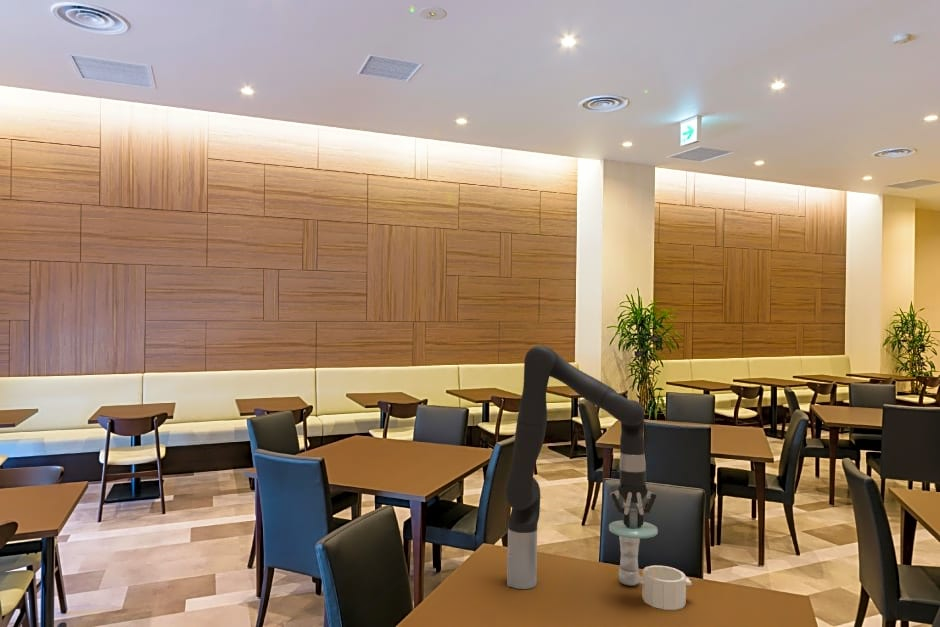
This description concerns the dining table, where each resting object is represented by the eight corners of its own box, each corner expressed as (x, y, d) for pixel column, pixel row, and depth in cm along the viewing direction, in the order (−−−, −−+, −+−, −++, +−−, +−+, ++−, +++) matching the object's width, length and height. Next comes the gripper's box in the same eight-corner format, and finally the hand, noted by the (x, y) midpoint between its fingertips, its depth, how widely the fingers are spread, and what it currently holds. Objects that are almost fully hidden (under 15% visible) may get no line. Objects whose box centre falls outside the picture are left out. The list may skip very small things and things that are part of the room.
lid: (612, 537, 175) (612, 516, 175) (605, 522, 189) (605, 503, 189) (662, 539, 174) (662, 517, 174) (651, 523, 188) (651, 504, 188)
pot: (642, 608, 176) (642, 580, 176) (633, 590, 188) (633, 564, 188) (696, 610, 175) (696, 582, 176) (683, 592, 187) (683, 566, 188)
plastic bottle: (637, 580, 196) (638, 517, 197) (641, 589, 190) (642, 524, 190) (616, 579, 197) (617, 516, 197) (620, 587, 190) (620, 523, 191)
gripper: (610, 470, 179) (611, 530, 178) (659, 471, 178) (660, 531, 178) (606, 465, 187) (607, 522, 186) (653, 465, 186) (654, 523, 185)
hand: (633, 526), depth 182 cm, fingers closed on lid, 3 cm apart
